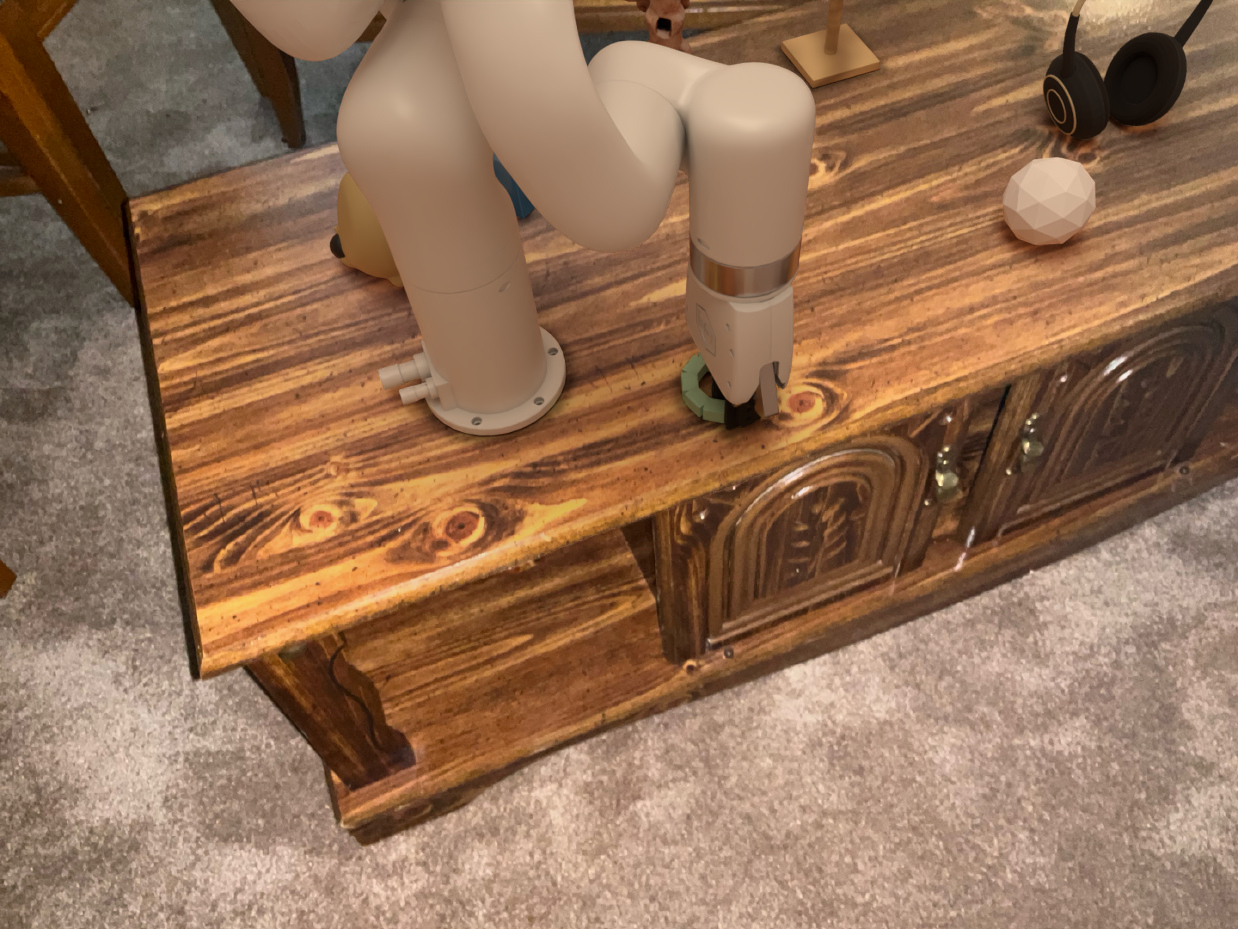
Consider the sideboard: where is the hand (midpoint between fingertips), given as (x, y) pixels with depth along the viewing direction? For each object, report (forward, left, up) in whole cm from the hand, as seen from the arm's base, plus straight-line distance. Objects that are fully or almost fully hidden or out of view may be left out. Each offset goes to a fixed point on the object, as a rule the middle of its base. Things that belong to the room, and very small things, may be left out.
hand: (736, 409), depth 80 cm
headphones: (+48, +19, 0) cm, 52 cm away
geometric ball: (+34, +8, 0) cm, 35 cm away
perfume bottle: (-9, +34, 0) cm, 36 cm away
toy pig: (-23, +29, 0) cm, 37 cm away
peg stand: (+29, +41, 0) cm, 50 cm away
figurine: (+8, +37, 0) cm, 38 cm away
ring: (0, +3, 0) cm, 3 cm away
